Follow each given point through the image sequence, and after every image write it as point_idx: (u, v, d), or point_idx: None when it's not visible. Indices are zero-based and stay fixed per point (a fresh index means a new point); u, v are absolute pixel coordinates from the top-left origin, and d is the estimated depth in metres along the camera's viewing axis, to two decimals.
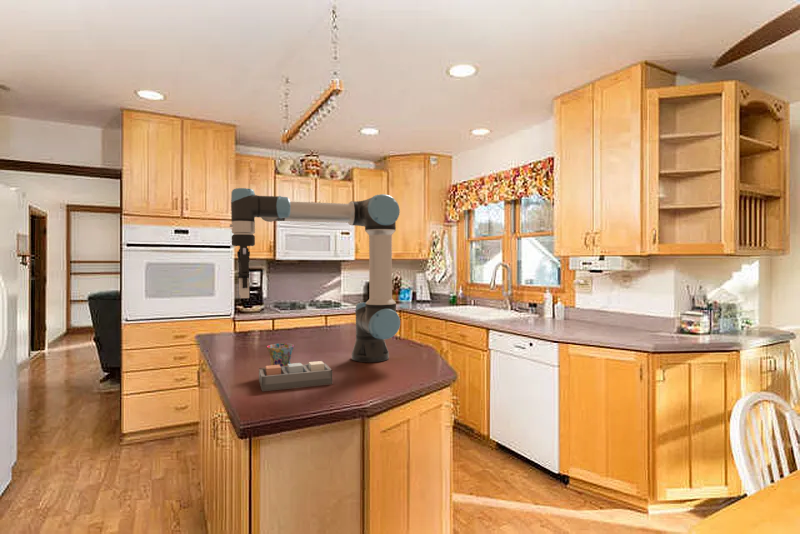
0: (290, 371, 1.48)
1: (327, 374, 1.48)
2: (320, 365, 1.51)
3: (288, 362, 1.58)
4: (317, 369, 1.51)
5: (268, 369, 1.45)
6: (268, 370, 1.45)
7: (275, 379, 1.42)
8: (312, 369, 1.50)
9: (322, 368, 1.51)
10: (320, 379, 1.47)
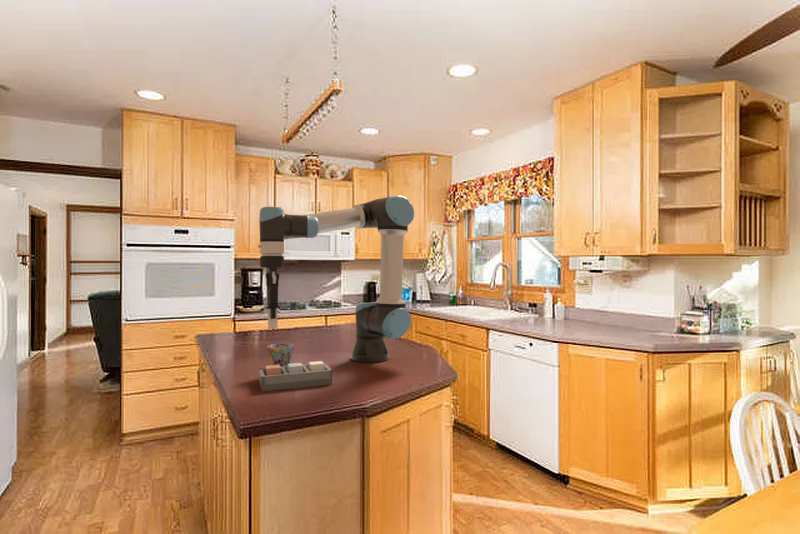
0: (290, 371, 1.48)
1: (327, 374, 1.48)
2: (320, 365, 1.51)
3: (288, 362, 1.58)
4: (317, 369, 1.51)
5: (268, 369, 1.45)
6: (268, 370, 1.45)
7: (275, 379, 1.42)
8: (312, 369, 1.50)
9: (322, 368, 1.51)
10: (320, 379, 1.47)
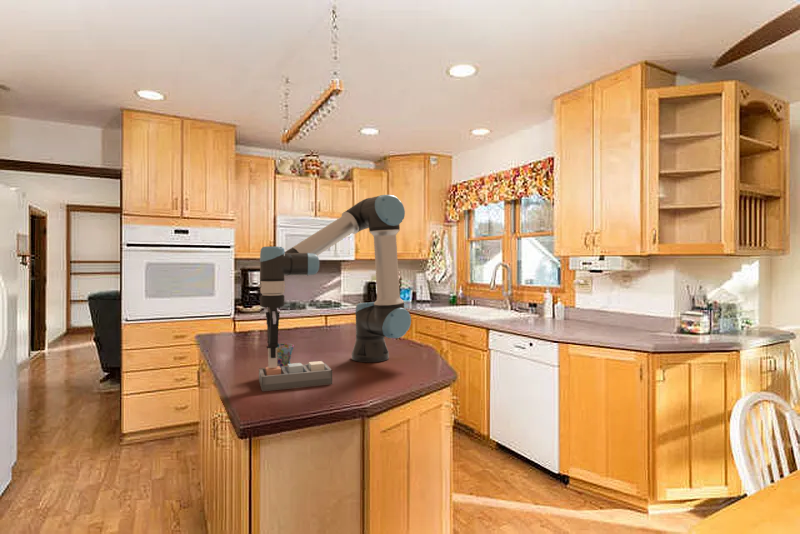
0: (290, 371, 1.48)
1: (327, 374, 1.48)
2: (320, 365, 1.51)
3: (288, 362, 1.58)
4: (317, 369, 1.51)
5: (268, 370, 1.45)
6: (268, 371, 1.45)
7: (275, 379, 1.42)
8: (312, 369, 1.50)
9: (322, 368, 1.51)
10: (320, 379, 1.47)
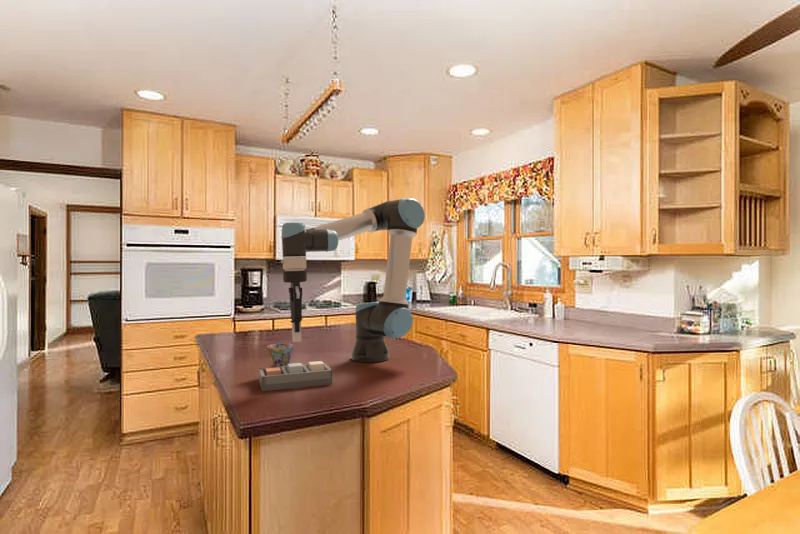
0: (290, 371, 1.48)
1: (327, 374, 1.48)
2: (320, 365, 1.51)
3: (288, 362, 1.58)
4: (317, 369, 1.51)
5: (268, 372, 1.45)
6: (268, 373, 1.45)
7: (275, 379, 1.42)
8: (312, 369, 1.50)
9: (322, 368, 1.51)
10: (320, 379, 1.47)
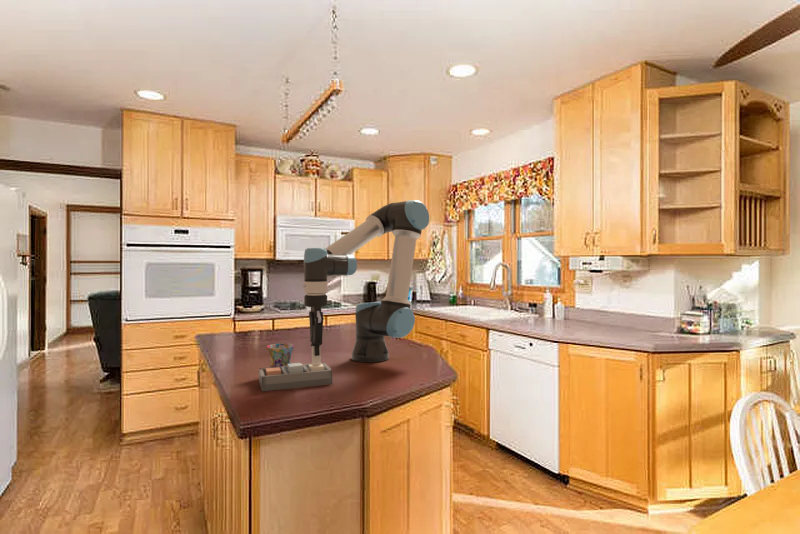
0: (290, 371, 1.48)
1: (327, 374, 1.48)
2: (320, 368, 1.51)
3: (288, 362, 1.58)
4: None
5: (268, 372, 1.45)
6: (268, 373, 1.45)
7: (275, 379, 1.42)
8: None
9: None
10: (320, 379, 1.47)
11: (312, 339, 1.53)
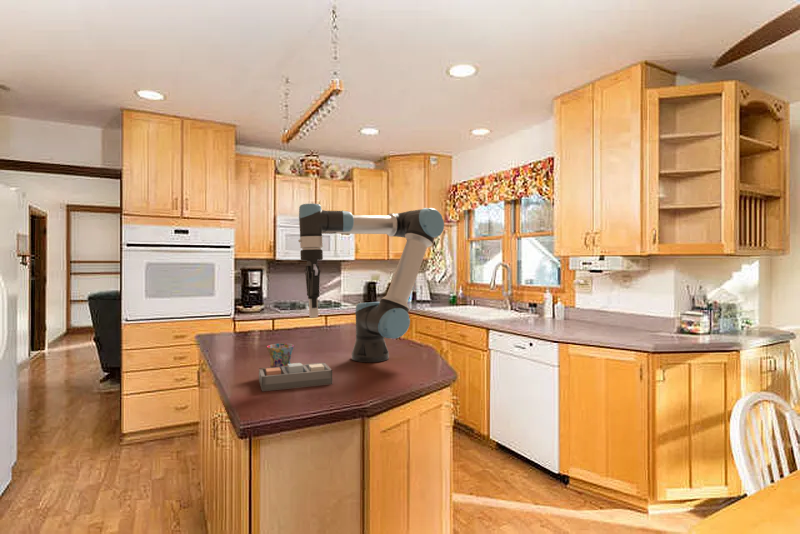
0: (290, 371, 1.48)
1: (327, 374, 1.48)
2: (320, 368, 1.51)
3: (288, 362, 1.58)
4: None
5: (268, 372, 1.45)
6: (268, 373, 1.45)
7: (275, 379, 1.42)
8: None
9: None
10: (320, 379, 1.47)
11: (309, 292, 1.58)
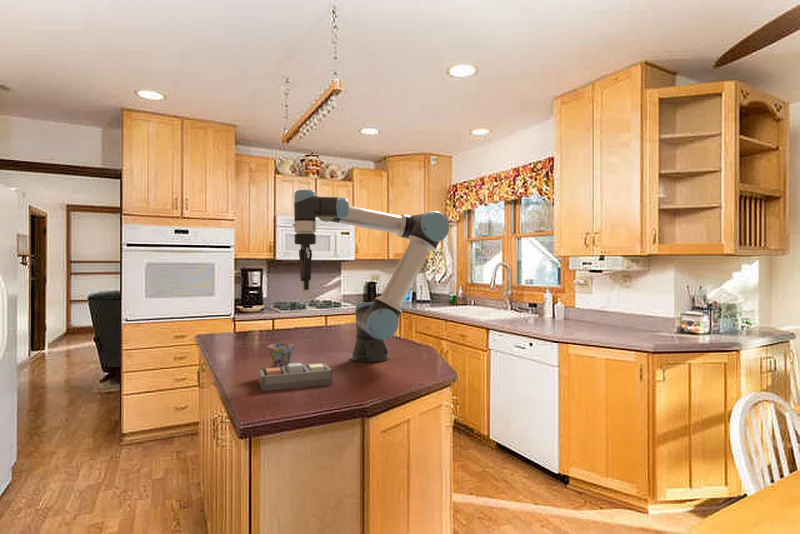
0: (290, 371, 1.48)
1: (327, 374, 1.48)
2: (320, 368, 1.51)
3: (288, 362, 1.58)
4: None
5: (268, 372, 1.45)
6: (268, 373, 1.45)
7: (275, 379, 1.42)
8: None
9: None
10: (320, 379, 1.47)
11: (302, 275, 1.65)
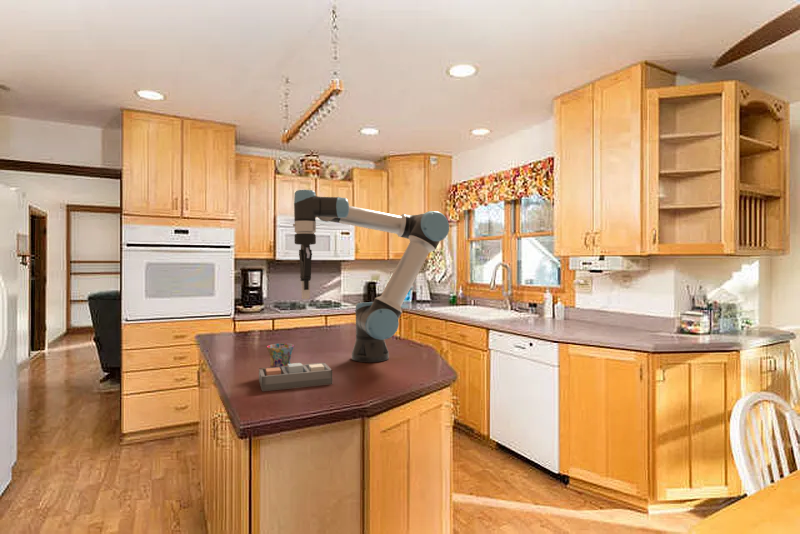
0: (290, 371, 1.48)
1: (327, 374, 1.48)
2: (320, 368, 1.51)
3: (288, 362, 1.58)
4: None
5: (268, 372, 1.45)
6: (268, 373, 1.45)
7: (275, 379, 1.42)
8: None
9: None
10: (320, 379, 1.47)
11: (302, 275, 1.65)
